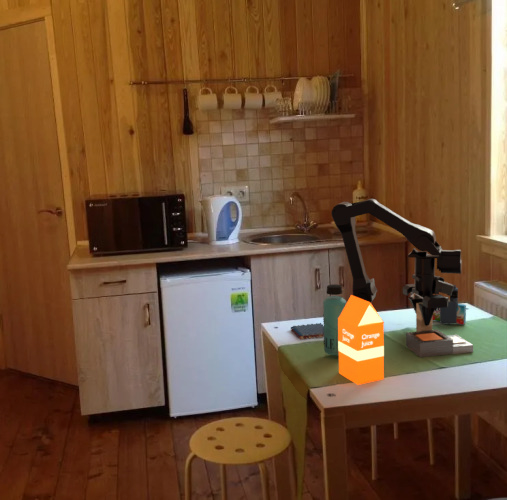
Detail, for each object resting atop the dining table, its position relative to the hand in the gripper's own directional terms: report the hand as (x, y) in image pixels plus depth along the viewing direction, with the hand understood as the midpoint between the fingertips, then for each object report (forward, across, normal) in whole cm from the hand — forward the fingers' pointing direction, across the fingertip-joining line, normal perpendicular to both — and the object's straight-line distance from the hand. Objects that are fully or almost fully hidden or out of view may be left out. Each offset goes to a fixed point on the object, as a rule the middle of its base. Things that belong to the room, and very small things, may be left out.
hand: (424, 323), depth 187 cm
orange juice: (+3, -27, +29) cm, 40 cm away
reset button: (+1, -14, +5) cm, 15 cm away
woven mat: (+4, +10, +32) cm, 34 cm away
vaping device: (+3, +7, -11) cm, 14 cm away
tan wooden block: (+3, 0, 0) cm, 3 cm away
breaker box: (+3, -14, +2) cm, 14 cm away
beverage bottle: (+3, -12, +31) cm, 33 cm away
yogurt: (+3, +9, -11) cm, 15 cm away
